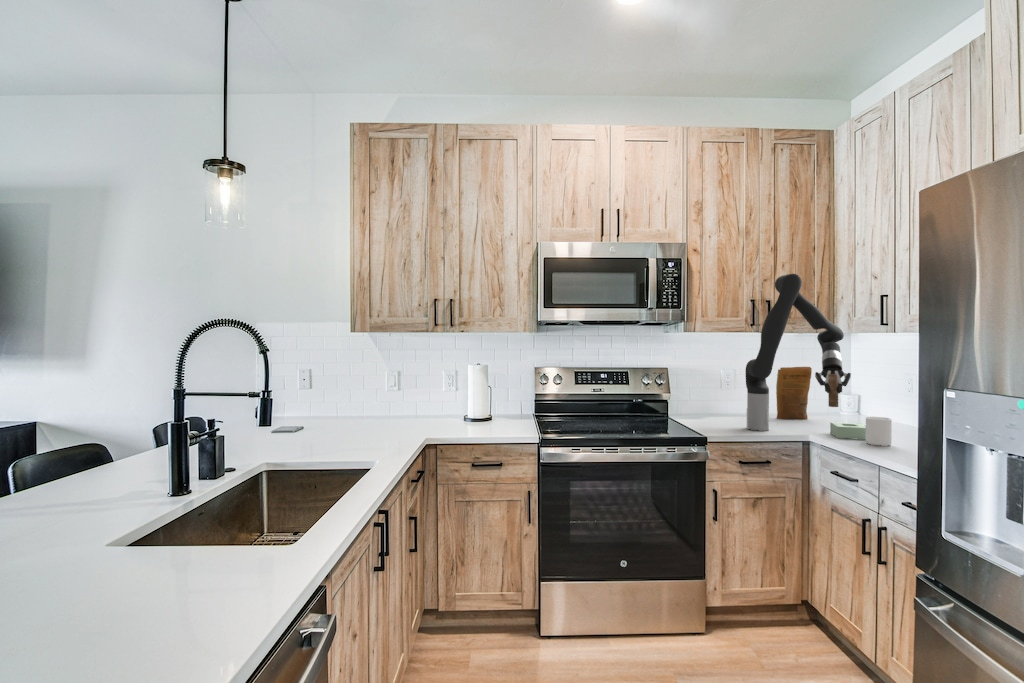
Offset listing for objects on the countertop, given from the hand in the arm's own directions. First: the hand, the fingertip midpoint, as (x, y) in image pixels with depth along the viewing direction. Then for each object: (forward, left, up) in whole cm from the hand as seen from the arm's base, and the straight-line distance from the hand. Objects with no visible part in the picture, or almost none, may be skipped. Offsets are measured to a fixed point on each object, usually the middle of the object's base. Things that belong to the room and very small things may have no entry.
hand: (833, 391), depth 221 cm
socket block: (+8, +8, -20) cm, 23 cm away
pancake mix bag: (-6, +54, -20) cm, 58 cm away
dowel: (0, +2, -6) cm, 7 cm away
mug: (+14, -5, -20) cm, 25 cm away
